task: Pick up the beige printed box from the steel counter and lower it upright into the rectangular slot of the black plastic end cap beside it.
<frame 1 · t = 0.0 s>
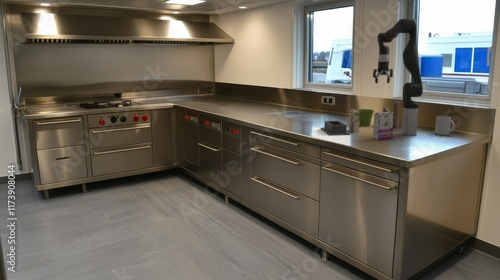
hand: (382, 83, 293), 29 cm above the countertop, tool pointing down, fingers open, 8 cm apart
plant pot: (364, 125, 287), on the countertop
candy bar box: (382, 139, 244), on the countertop
mug: (444, 134, 255), on the countertop
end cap: (334, 131, 267), on the countertop
beige printed box: (353, 131, 268), on the countertop
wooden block: (390, 126, 282), on the countertop
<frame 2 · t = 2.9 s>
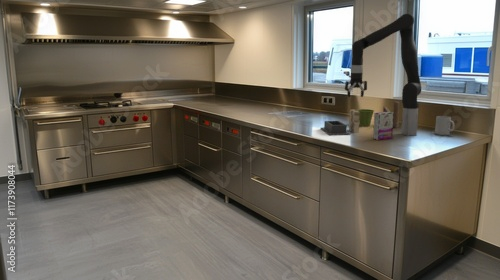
hand: (355, 96, 263), 23 cm above the countertop, tool pointing down, fingers open, 8 cm apart
nothing on the countertop moved.
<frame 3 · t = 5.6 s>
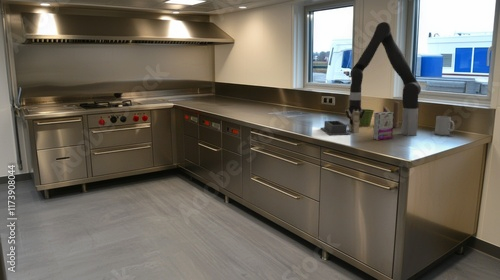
hand: (354, 124, 267), 5 cm above the countertop, tool pointing down, fingers closed on beige printed box, 3 cm apart
beige printed box: (353, 131, 268), on the countertop, touching gripper
everything else where it was.
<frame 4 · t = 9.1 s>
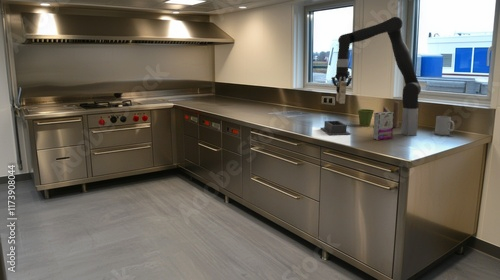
hand: (340, 92, 262), 26 cm above the countertop, tool pointing down, fingers closed on beige printed box, 3 cm apart
beige printed box: (340, 102, 263), point 20 cm above the countertop, touching gripper
everything else where it was.
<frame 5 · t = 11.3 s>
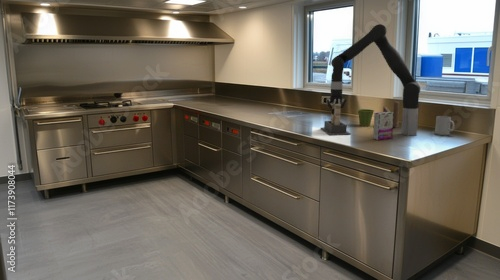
hand: (335, 114, 264), 12 cm above the countertop, tool pointing down, fingers closed on beige printed box, 3 cm apart
beige printed box: (335, 124, 265), point 5 cm above the countertop, touching gripper
everything else where it was.
when the fingers open (8 cm above the countertop, at t = 12.8 s): beige printed box stays where it is, resting on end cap.
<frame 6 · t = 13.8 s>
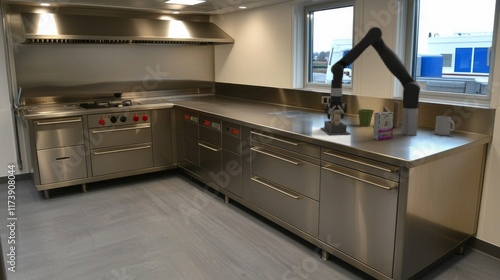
hand: (335, 119, 265), 9 cm above the countertop, tool pointing down, fingers open, 8 cm apart
beige printed box: (335, 130, 266), point 1 cm above the countertop, touching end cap
everything else where it was.
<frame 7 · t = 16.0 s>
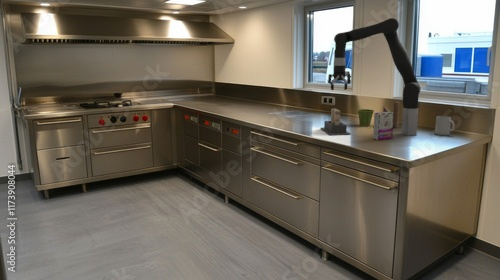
hand: (339, 90, 260), 28 cm above the countertop, tool pointing down, fingers open, 8 cm apart
nothing on the countertop moved.
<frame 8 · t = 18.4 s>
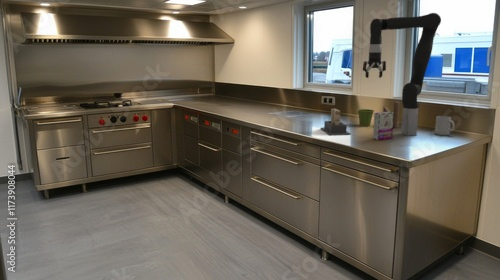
hand: (373, 77, 254), 36 cm above the countertop, tool pointing down, fingers open, 8 cm apart
nothing on the countertop moved.
at the end: beige printed box 0.3 cm off-centre on the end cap, point 1.0 cm above the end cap's base; beige printed box tilted 0°; the gripper is holding nothing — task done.
